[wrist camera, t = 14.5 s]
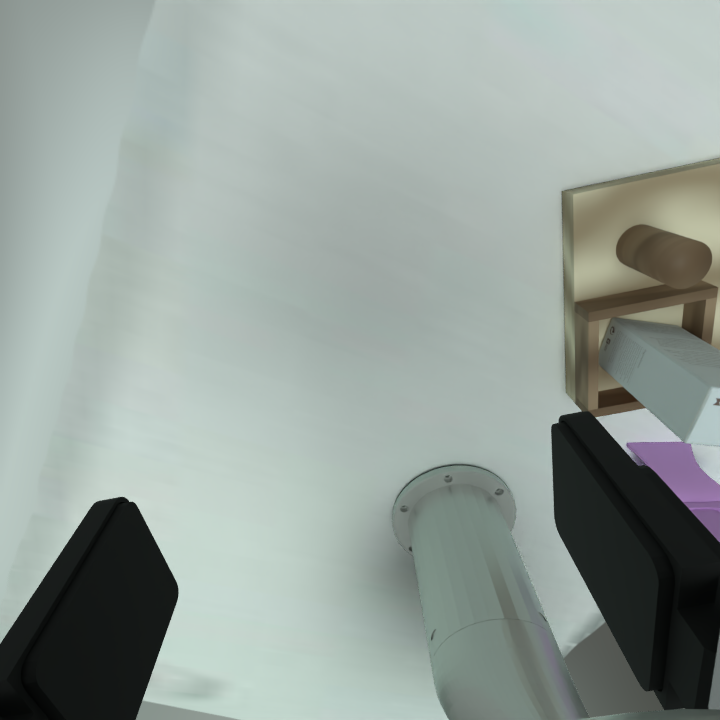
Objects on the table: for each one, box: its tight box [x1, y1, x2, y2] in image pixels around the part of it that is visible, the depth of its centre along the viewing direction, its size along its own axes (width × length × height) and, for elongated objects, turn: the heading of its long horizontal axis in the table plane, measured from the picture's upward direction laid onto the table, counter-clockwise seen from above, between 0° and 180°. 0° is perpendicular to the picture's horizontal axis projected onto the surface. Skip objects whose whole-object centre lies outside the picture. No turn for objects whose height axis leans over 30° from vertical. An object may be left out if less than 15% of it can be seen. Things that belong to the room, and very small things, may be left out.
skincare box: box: [599, 317, 720, 447], centre depth 35 cm, size 6×4×12 cm
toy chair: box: [627, 442, 720, 542], centre depth 43 cm, size 8×9×15 cm
